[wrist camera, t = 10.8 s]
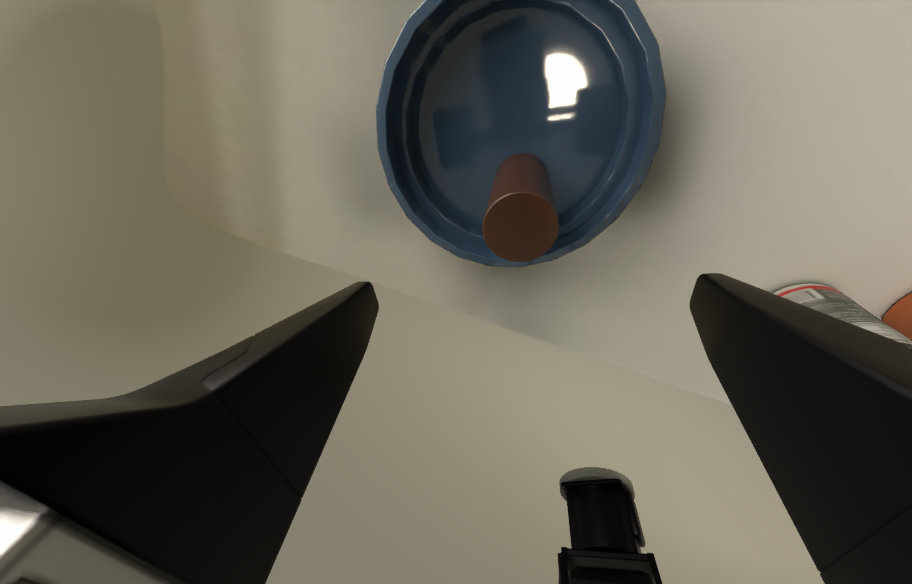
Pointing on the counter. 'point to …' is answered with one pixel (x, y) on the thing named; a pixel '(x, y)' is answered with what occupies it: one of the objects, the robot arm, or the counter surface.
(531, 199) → the brown cylinder
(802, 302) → the pill bottle
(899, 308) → the orange cylinder cap
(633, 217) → the counter surface
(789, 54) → the counter surface
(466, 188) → the bowl
